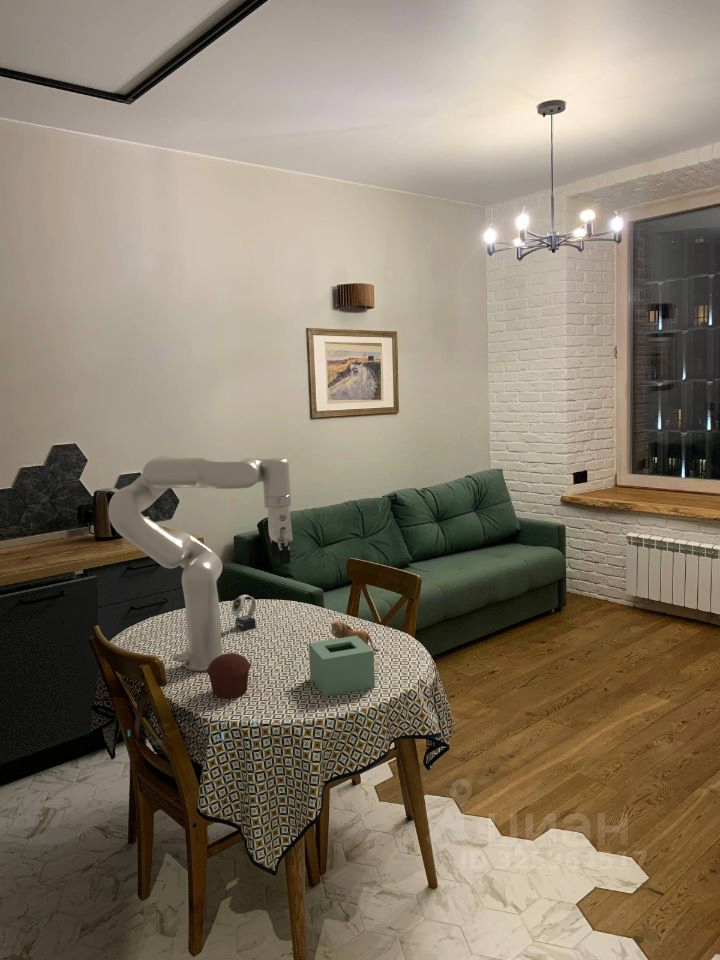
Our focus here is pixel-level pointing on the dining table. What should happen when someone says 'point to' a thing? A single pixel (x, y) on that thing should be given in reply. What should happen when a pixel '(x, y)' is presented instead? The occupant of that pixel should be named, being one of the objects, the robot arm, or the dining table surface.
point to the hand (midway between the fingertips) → (280, 560)
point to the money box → (341, 665)
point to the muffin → (229, 675)
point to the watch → (244, 621)
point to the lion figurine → (349, 633)
